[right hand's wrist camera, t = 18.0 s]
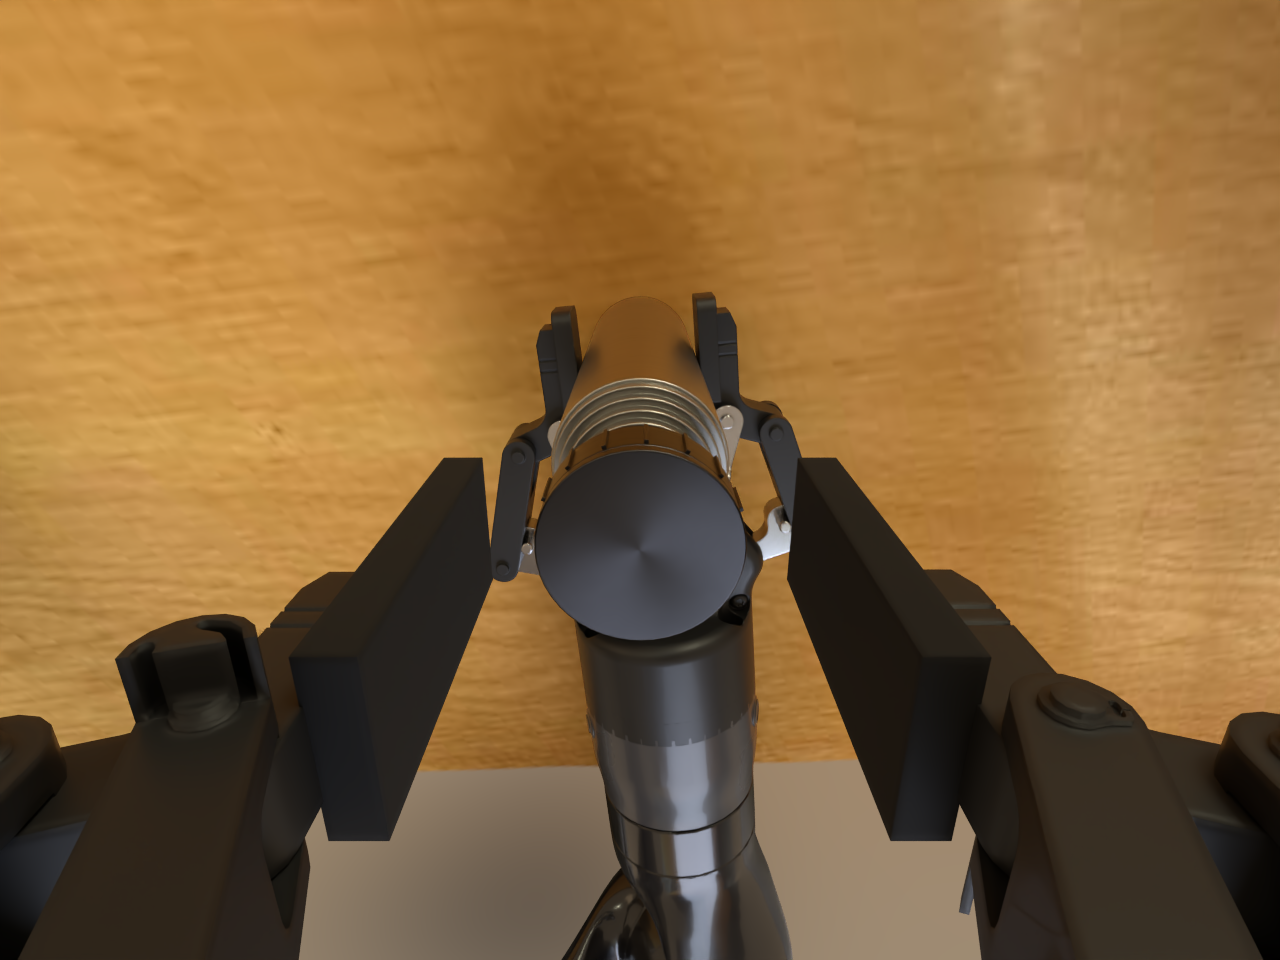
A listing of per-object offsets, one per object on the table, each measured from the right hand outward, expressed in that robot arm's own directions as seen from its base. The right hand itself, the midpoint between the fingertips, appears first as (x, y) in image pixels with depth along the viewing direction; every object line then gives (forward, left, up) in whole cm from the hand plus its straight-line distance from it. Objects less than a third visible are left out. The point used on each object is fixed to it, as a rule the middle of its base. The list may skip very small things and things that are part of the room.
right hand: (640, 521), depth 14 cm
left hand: (0, -3, -13) cm, 13 cm away
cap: (0, 0, +1) cm, 1 cm away
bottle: (0, 0, -19) cm, 19 cm away
